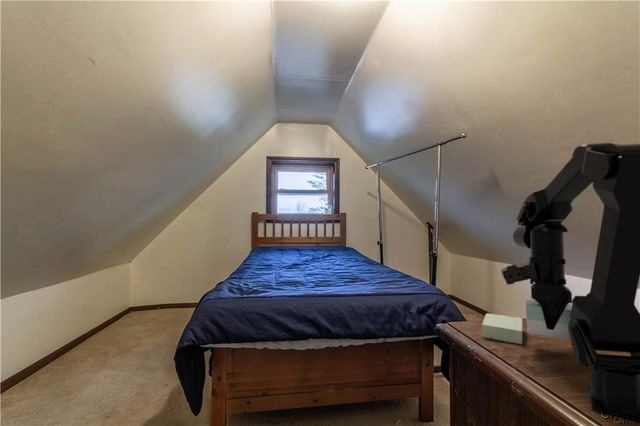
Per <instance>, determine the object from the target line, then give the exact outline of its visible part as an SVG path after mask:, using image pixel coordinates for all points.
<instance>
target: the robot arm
mask: <svg viewBox="0 0 640 426" xmlns="http://www.w3.org/2000/svg"><path fill="white" fill-rule="evenodd" d="M590 185H592V188H593V190H594V192H595V193H596V195H597V196H598V198H599V199H600V201H601V203H602V204H603V211H602V217H601V223H600V229H599V236H598V241H597V249H596V254H595V260H594V265H593V266H594V267H593V272H592V279H591V284H590V290H589V292H588V293H587V294H586V295H574V297H573V294H572V293H573V292H572V291H571V290H570V289H569V287H567V286H566V285H567V279H566V275H565V274H566V271H565V265H566V258H565V247H564V246H565V243H564V241H565V240H564V233H567V232H568V231H569V230H568V228H567V227H566V225H564V224H562V223H563V222H564V221H565V220H566V219H567V217H569V215H570V214H571V213H572V212H573V206H572V203H573V201H574V200H575V199H576V198H577V197H579V196H580V195H581V193H583V192H585V190H586V189H587V188H588V187H589V186H590ZM522 203H523V204H522V206H521V208H520V210H519V213H518V215H517V217H516V220H517V225H518V227H517V228H516V229H515V230H514V231H513V234H512V238H513V241H514V244H516V245H517V246H518V247H521V248H524V249H528V250H530V256H528V257H529V258H528V259H529V260H528V261H529V262H523V263H519V264H515V263H513V264H511V265H507V266H506V267H504V268H502V269H501V273H502V276H503V277H502V278H503V279H504V280H505V282H506V285H509V286H510V285H514V284H515V283H518V282H523V281H527V280H529V282H530V283H529V284H530V295H531V300H532V299H533V300H535V301H537V302H538V303H539V304H540V305H541V308H542V311H543V315H544V319H545V323H546V327H547V329H550V330H554V328H555V326H556V324H557V322H558V320H559V319H560V317H561V315H562V313H563V311H564V310H565V308H566V306H567V304H571V305H572V310H571V313H570V315H569V316H570V317H571V319H570V321H569V325H568V329H569V334H570V339H571V340H570V343H571V347H572V351H573V355H574V357H575V358H576V362H577V363H578V364H580V365H583V366H587V367H588V368H589V369H590V386H585V387H584V390H585V393H586V397H587V400H588V402H589V405H590V407H591V409H592V410H594V411H597V412H600V413H605V414H608V415H614V416H617V417H620V418H625V419H629V420H632V421H636V422H640V311H639V310H638V308H637V307H636V305H635V304H636V303H635V302H636V296H637V292H638V288H639V282H640V143H632V144H631V143H630V144H618V143H612V142H602V143H585V144H582V145H578V146H577V147H575V149H574V150H573V152H572V156H571V158H570V159H569V160H568V162H566V164H565V165H564V167H562V169H561V170H560V171H559V172H558V173H557V174H556V176H555V177H554V178H553V179H552V180H551V181H550V183H549V184H548V185H547V186H546V187H544V188H541V189H539V190H534V191H533V192H532V193H531V194H529V195H528V196H527V197H526V199H525V200H524V201H523V202H522ZM597 351H598V352H599V351H600V352H615V353H626V354H627V353H628V354H630V355H619V354H608V353H607V354H606V353H597Z"/></svg>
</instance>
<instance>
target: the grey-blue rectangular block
mask: <svg viewBox="0 0 640 426" xmlns="http://www.w3.org/2000/svg"><path fill="white" fill-rule="evenodd" d="M525 308H526V309H525V312H526V316H525V317H526V333H527V334H532V335H538V336H545V337H549V338H550V337H551V338H557V339H563V340H570V341H571V339H570V334H569V329H568V325H569V321H570V319H571V317H570V316H569V315H570V313H571V310H572V303H569V304H567V306H566V308H565V310H564V311H563V313H562V315H561V317H560V319H559V320H558V322H557V324H556V326H555V328H554V330H550V329H547V327H546V323H545V319H544V315H543V311H542V308H541V305H540V304H539V303H538V302H537V301H536V300H534V299H533V300H532V299H525Z"/></svg>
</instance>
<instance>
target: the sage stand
mask: <svg viewBox="0 0 640 426" xmlns="http://www.w3.org/2000/svg"><path fill="white" fill-rule="evenodd" d="M481 328H482V329H481V337H482V338H485V339H490V338H492V339H491V340H497V341H500V342H501V341H502V342H507V343H513V344H519V345H523V317H515V316H509V315H501V314H496V313H495V314H494V313H485V315H484V318H483V321H482V323H481Z"/></svg>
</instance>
